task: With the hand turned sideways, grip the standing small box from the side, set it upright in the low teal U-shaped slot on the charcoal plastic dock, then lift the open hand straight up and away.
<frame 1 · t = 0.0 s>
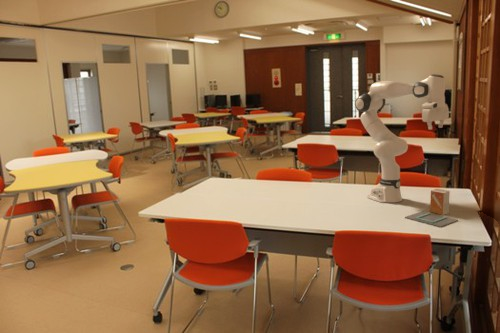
hand: (435, 128, 253), 48 cm above the table, tool pointing down, fingers open, 8 cm apart
small box: (439, 212, 257), on the table
dock: (430, 219, 246), on the table
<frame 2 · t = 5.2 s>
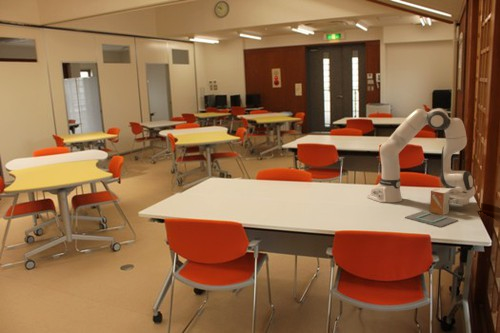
hand: (441, 200, 256), 7 cm above the table, tool horizontal, fingers open, 8 cm apart
nothing on the table moved.
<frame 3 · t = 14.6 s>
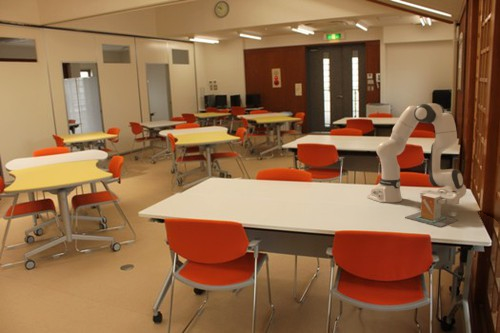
hand: (430, 200, 243), 11 cm above the table, tool horizontal, fingers open, 8 cm apart
small box: (430, 218, 246), resting on dock
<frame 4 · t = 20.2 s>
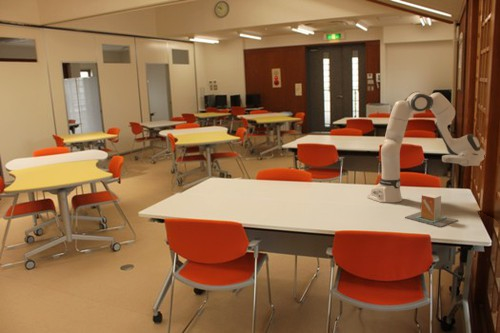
hand: (452, 161, 257), 28 cm above the table, tool horizontal, fingers open, 8 cm apart
nothing on the table moved.
at the end: small box 0.2 cm off-centre on the dock, point 0.4 cm above the dock's base; small box tilted 0°; the gripper is holding nothing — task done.
